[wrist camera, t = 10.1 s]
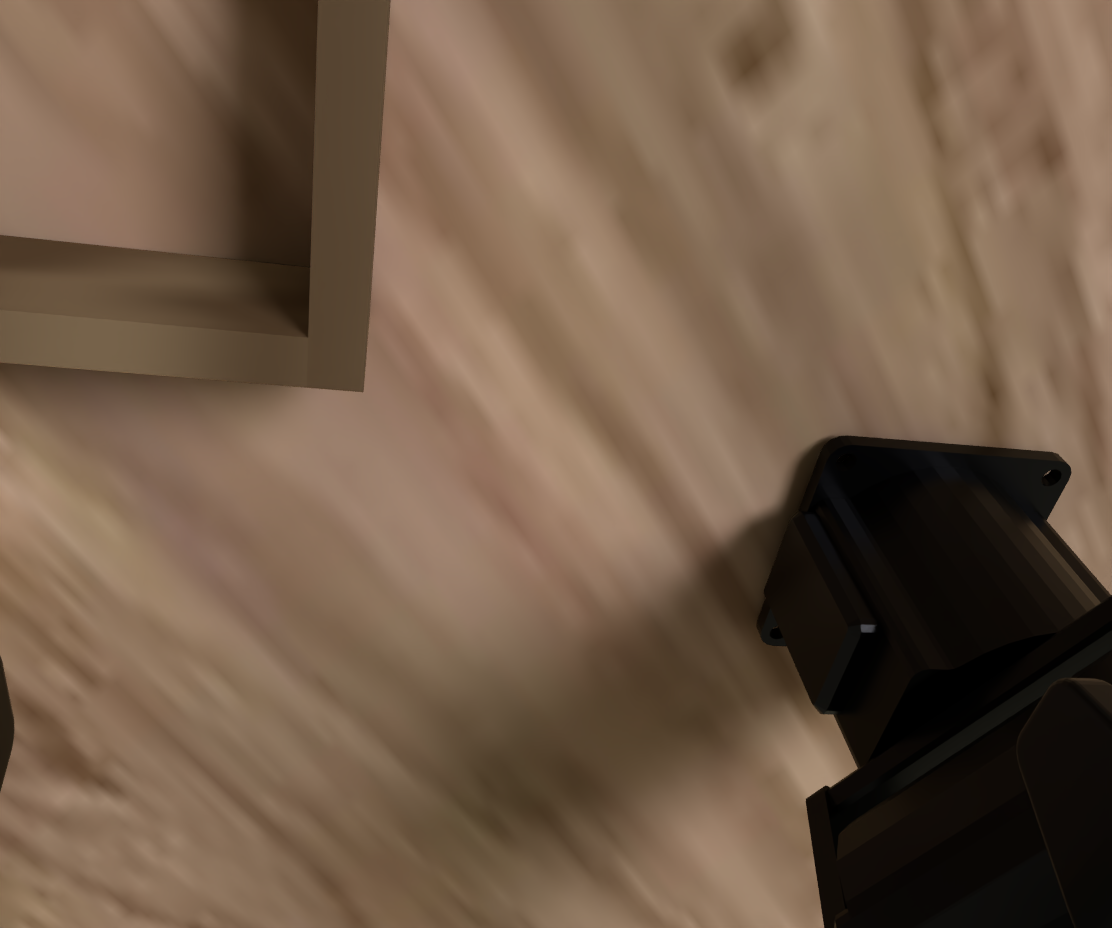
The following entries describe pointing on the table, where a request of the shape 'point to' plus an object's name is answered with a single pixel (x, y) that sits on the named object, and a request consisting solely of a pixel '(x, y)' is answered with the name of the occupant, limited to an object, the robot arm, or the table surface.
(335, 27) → the wooden frame
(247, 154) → the table surface
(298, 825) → the table surface
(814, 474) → the robot arm
